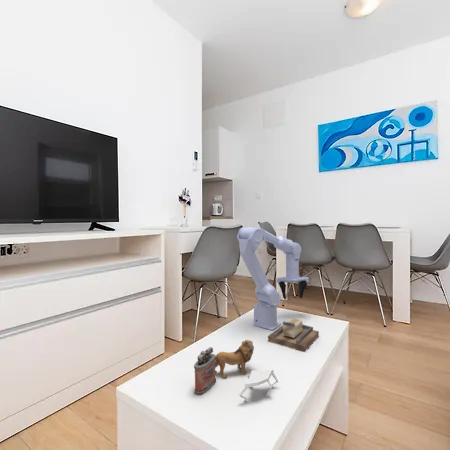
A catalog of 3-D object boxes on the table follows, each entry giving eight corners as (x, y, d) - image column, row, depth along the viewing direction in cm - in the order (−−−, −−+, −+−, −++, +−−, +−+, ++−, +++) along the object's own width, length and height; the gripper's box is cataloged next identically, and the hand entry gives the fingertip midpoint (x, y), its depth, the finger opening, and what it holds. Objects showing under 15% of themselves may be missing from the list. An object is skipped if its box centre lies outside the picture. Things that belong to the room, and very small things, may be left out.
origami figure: (253, 378, 80) (253, 361, 79) (280, 388, 75) (280, 370, 75) (230, 401, 70) (230, 382, 70) (259, 414, 65) (259, 394, 65)
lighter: (201, 397, 71) (201, 359, 71) (191, 392, 73) (190, 355, 73) (218, 381, 78) (218, 346, 78) (209, 377, 80) (208, 343, 80)
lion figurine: (249, 363, 87) (249, 335, 87) (257, 372, 82) (257, 342, 82) (205, 374, 82) (205, 344, 82) (211, 384, 77) (211, 352, 77)
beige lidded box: (282, 336, 102) (282, 321, 102) (291, 329, 108) (291, 315, 108) (294, 339, 99) (294, 324, 99) (302, 332, 106) (302, 317, 106)
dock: (268, 341, 103) (268, 332, 103) (285, 328, 115) (285, 320, 115) (304, 351, 94) (304, 342, 94) (318, 336, 106) (318, 328, 106)
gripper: (278, 270, 121) (279, 300, 121) (311, 269, 122) (311, 299, 122) (275, 267, 128) (275, 296, 128) (305, 266, 129) (305, 295, 129)
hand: (292, 297), depth 126 cm, fingers open, 7 cm apart
